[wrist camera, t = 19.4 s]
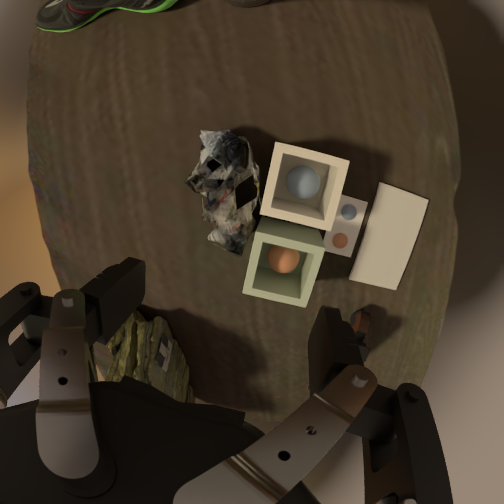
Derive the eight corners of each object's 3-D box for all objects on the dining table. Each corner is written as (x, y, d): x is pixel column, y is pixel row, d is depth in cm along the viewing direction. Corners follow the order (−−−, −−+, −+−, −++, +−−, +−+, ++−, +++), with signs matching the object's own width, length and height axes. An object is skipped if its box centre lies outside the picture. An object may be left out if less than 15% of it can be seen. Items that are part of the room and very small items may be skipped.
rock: (183, 301, 49) (127, 297, 54) (113, 364, 31) (58, 344, 35) (214, 412, 58) (165, 400, 62) (178, 475, 39) (124, 453, 43)
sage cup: (261, 216, 41) (255, 231, 34) (318, 230, 41) (325, 248, 33) (250, 268, 44) (242, 293, 37) (303, 281, 44) (305, 307, 36)
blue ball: (289, 161, 37) (291, 162, 33) (320, 169, 37) (326, 171, 33) (282, 192, 39) (283, 197, 34) (313, 200, 39) (317, 205, 34)
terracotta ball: (272, 234, 41) (270, 244, 37) (302, 241, 41) (303, 252, 37) (265, 261, 43) (262, 274, 39) (294, 268, 43) (294, 281, 38)
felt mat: (379, 181, 37) (380, 182, 36) (426, 199, 36) (428, 200, 36) (348, 277, 43) (349, 279, 42) (394, 288, 42) (395, 290, 42)
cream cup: (277, 143, 37) (275, 141, 29) (337, 159, 36) (349, 161, 29) (264, 201, 40) (259, 214, 33) (322, 216, 40) (330, 231, 32)
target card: (336, 193, 38) (337, 193, 38) (367, 202, 38) (368, 202, 38) (320, 249, 42) (320, 250, 41) (350, 256, 41) (350, 257, 41)
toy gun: (315, 341, 56) (305, 390, 49) (360, 305, 43) (354, 369, 35) (325, 344, 56) (316, 393, 49) (372, 309, 43) (367, 372, 35)
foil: (291, 144, 34) (247, 250, 31) (273, 177, 44) (238, 261, 42) (209, 112, 33) (153, 210, 30) (208, 150, 43) (167, 230, 41)
